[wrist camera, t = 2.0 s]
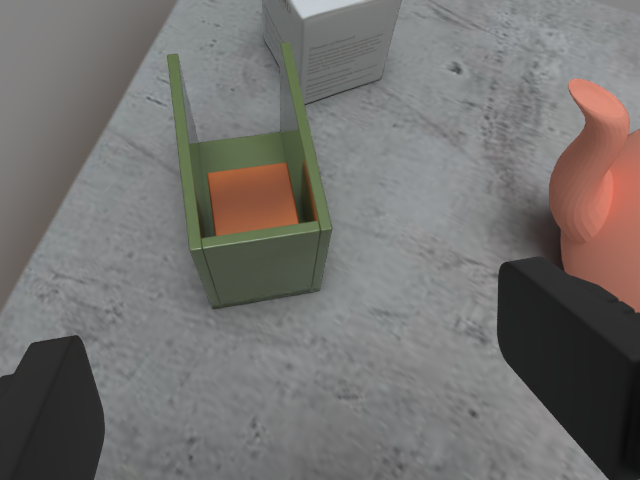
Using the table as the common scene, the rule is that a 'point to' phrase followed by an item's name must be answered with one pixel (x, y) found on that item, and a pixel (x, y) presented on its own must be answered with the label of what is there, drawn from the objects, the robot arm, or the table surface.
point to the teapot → (600, 196)
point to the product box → (331, 40)
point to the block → (252, 199)
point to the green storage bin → (264, 244)
